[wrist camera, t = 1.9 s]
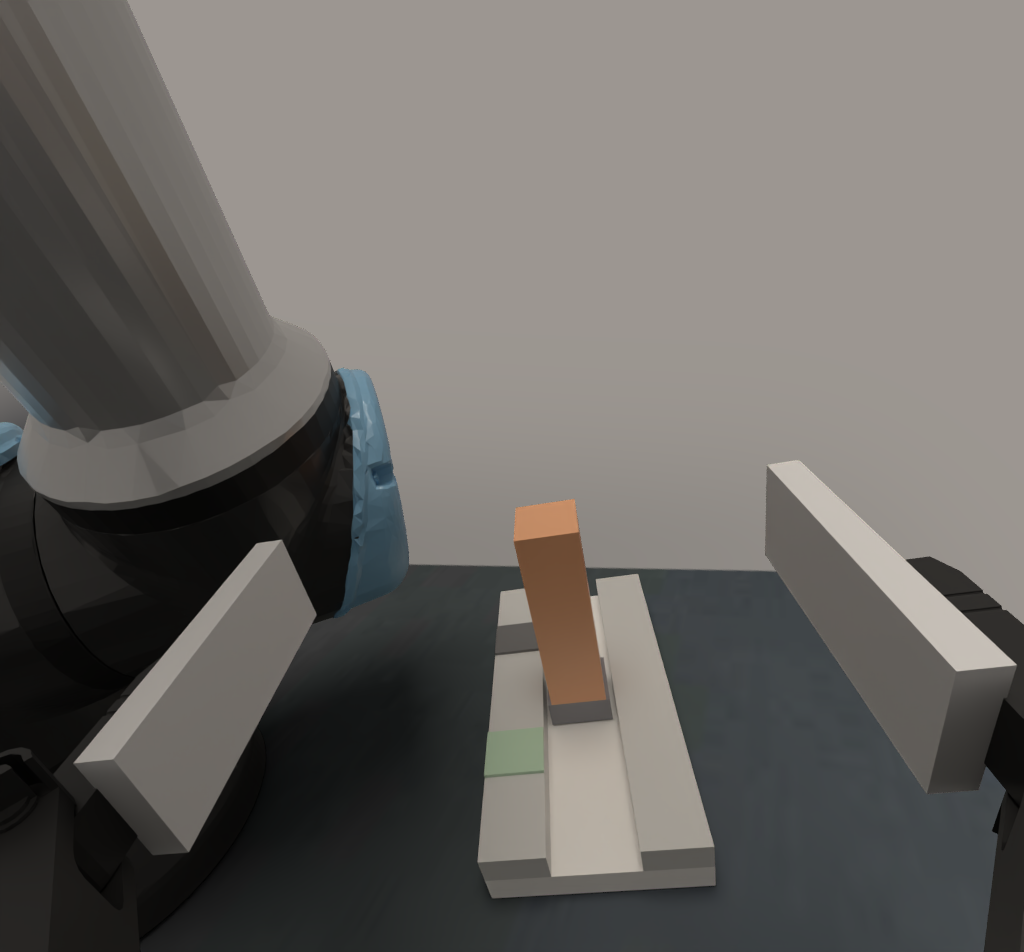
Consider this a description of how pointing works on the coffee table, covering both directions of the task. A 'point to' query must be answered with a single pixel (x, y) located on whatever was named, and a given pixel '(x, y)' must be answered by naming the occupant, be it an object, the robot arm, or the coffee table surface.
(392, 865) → the coffee table surface
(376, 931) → the coffee table surface
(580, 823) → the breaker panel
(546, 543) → the handle
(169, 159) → the robot arm
